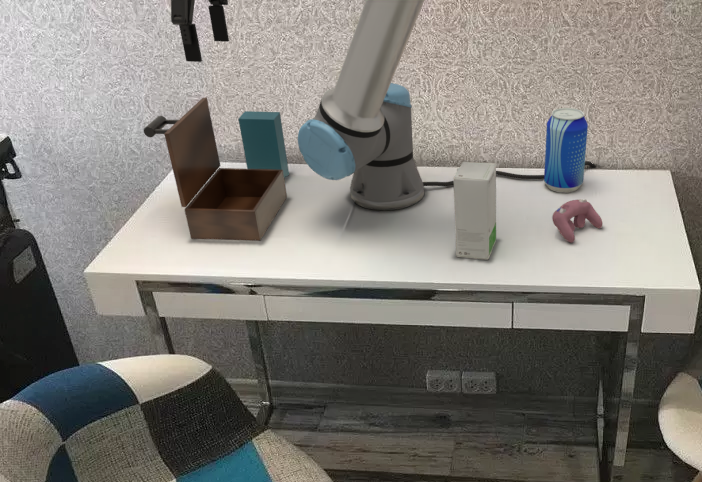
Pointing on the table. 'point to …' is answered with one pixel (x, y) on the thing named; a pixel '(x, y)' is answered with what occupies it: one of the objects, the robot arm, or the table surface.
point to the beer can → (565, 150)
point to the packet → (263, 141)
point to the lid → (189, 149)
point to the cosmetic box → (475, 209)
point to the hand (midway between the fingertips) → (208, 50)
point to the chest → (236, 204)
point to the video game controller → (575, 217)
